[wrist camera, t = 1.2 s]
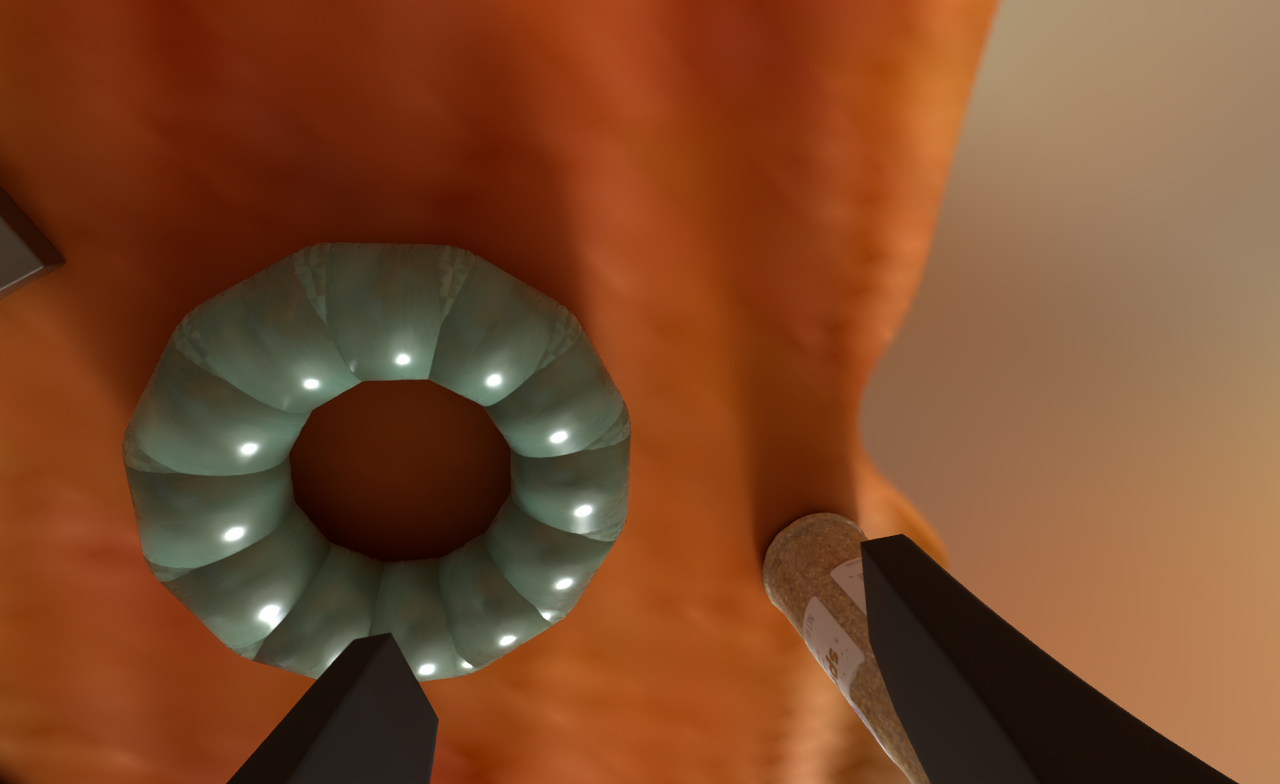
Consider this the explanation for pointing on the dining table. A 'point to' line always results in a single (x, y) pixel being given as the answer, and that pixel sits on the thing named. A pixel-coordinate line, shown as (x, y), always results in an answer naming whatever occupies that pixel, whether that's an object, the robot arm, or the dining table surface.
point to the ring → (326, 367)
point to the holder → (22, 249)
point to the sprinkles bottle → (836, 620)
